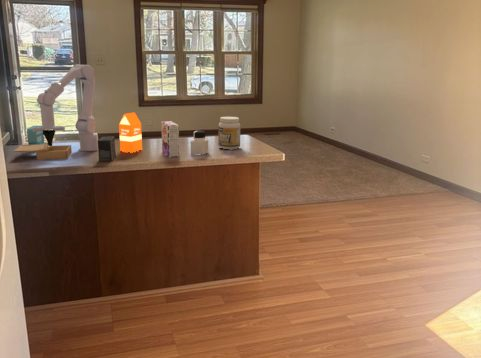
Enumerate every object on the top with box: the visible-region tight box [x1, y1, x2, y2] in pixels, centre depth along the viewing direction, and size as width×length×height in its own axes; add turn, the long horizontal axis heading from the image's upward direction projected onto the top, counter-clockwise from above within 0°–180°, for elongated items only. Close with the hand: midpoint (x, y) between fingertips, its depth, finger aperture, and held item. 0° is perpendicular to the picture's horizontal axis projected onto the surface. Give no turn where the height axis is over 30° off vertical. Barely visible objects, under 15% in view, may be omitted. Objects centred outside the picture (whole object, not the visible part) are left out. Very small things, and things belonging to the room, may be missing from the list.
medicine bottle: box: [190, 130, 209, 156], centre depth 234 cm, size 7×7×12 cm
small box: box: [97, 135, 117, 163], centre depth 219 cm, size 11×6×10 cm, turn 5°
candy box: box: [160, 120, 180, 158], centre depth 230 cm, size 14×6×16 cm, turn 23°
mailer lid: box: [13, 140, 51, 153], centre depth 222 cm, size 15×15×3 cm
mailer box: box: [35, 144, 73, 161], centre depth 224 cm, size 14×14×4 cm
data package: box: [26, 125, 45, 145], centre depth 238 cm, size 12×4×12 cm, turn 7°
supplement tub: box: [217, 116, 241, 150], centre depth 248 cm, size 12×12×17 cm
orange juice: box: [118, 112, 143, 154], centre depth 237 cm, size 8×9×20 cm
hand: (50, 145), depth 223 cm, fingers closed
